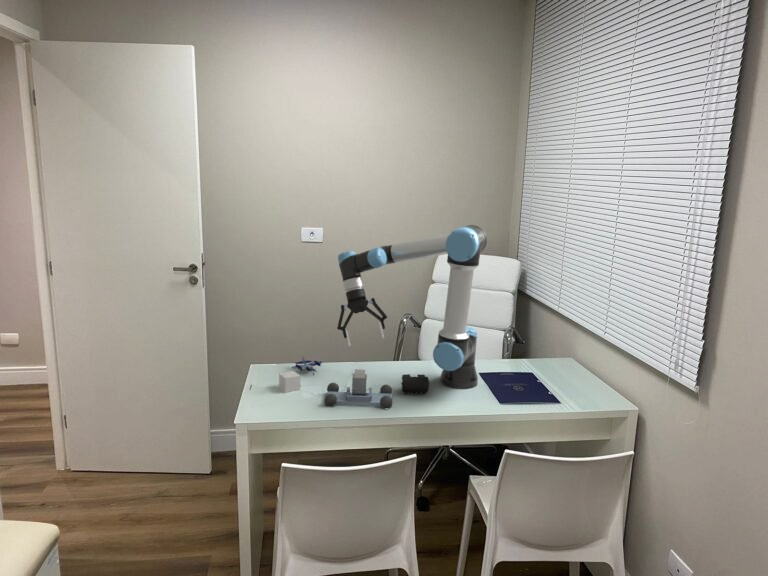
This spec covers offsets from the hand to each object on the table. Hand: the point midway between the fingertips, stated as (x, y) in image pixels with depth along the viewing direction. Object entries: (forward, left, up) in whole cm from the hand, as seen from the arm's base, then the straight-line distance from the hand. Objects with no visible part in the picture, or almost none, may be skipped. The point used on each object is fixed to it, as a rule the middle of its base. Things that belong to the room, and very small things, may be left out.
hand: (366, 341), depth 228 cm
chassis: (+2, +19, -17) cm, 26 cm away
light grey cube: (+29, +10, -17) cm, 35 cm away
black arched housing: (-19, +9, -17) cm, 27 cm away
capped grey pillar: (+2, +19, -15) cm, 25 cm away
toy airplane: (+24, -9, -17) cm, 31 cm away
